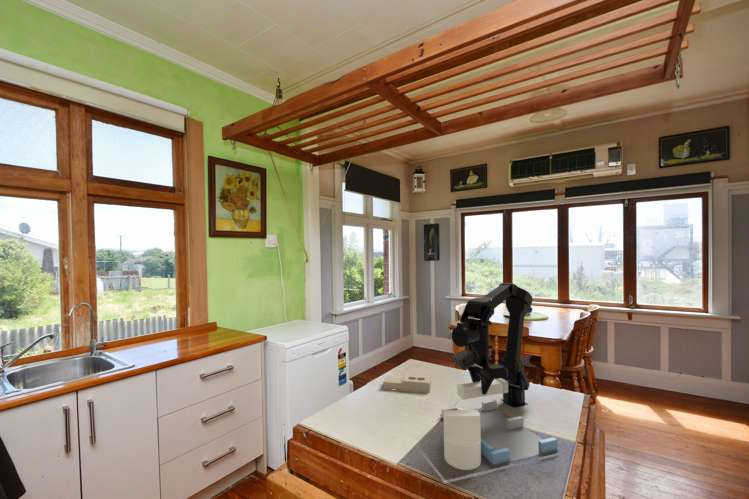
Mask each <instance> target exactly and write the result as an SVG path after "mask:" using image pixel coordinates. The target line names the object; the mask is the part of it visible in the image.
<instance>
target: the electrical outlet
mask: <svg viewBox="0 0 749 499" xmlns="http://www.w3.org/2000/svg"><path fill="white" fill-rule="evenodd" d="M382 385H383V386H382V388H383V390H388V389H396V390H395V391H401V390H406V391H405V392H413V391H415V393H427V394H428V393H429V394H430V393H431V386H432V378H431V376H428V375H426V376H425V375H415V374H412V375H410V374H404V375H403V376H399V375H397V376H396V375H386V376H385V378H384V380H383V382H382Z"/></svg>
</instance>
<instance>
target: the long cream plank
mask: <svg viewBox="0 0 749 499" xmlns="http://www.w3.org/2000/svg"><path fill="white" fill-rule="evenodd" d="M456 391H457V392H456V394H457V395H456V396H458V397H460V398H461V399H462V400H469V399H476V398H481V397H488V396H493V395H499V394H503V393H508V381H506V380H504V379H502V378H499V379H494V380H493V382H492V384H491V385H490V387H489V389H488V391H487V393H486V394H485V395H483V394H482V388H481V380H480V382H469V383H462V384H461V383H460V384H456Z"/></svg>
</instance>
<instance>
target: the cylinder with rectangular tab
mask: <svg viewBox="0 0 749 499" xmlns="http://www.w3.org/2000/svg"><path fill="white" fill-rule="evenodd" d="M443 412H444V418H443V450H444V451H443V452H444V453H443V457H444V461H445V462H446V463H447V464H448V465H450V466H451V467H453V468H455V469H458V470H463V471H464V470H465V471H470V470H472V471H473V470H475V469H477V468H479V467H480V465H481V463H482V454H481V431H480V413H479V412H478V411H477V410H472V409H460V410H459V409H457V410H444V411H443Z"/></svg>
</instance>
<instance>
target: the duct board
mask: <svg viewBox="0 0 749 499" xmlns="http://www.w3.org/2000/svg"><path fill="white" fill-rule="evenodd" d="M497 402H498V401H497V400H496V399H491V400H486V401H485V400H484V401H481V407H479V408H473V409H472V408H471V410H477V411H478V412H479V413H480V431H481V456H483V457H484V459H485V458H486V460H487V461H489V462H490V464H492V465H493V466H494V467H495V466H499V467H502V465H503V464H505V465H506V464H507V466H508V465H510V463H511V462H517V461H520V460H525V459H528V458H533V457H536V459H537V458H538V457H537V456H540V458H541V457H543V456H542V455H544V454H546V455H544V457H545V456H547V454H549V453H552V452H557V451H559V449H558V439H557V438H556V437H554V436H553V437H548V438H544V439H543V438H542V437H540V436H539V435H537V434H535V433H534V432H532V431H531V430H529V429H528V428H527V427H525V426H524V417H523V416H520V415H519V416H514V417H510V416H509V415H507V414H505V413H504V412H503V411H501V410H500V409H498V405H497ZM444 410H458V407H457V406H448V407H443V408H441V414H440V415H439V416H440V417H441V418H442V419H444V412H443V411H444ZM508 463H509V464H508ZM512 464H514V463H512ZM512 464H511V465H512ZM500 465H501V466H500ZM505 465H504V466H505Z"/></svg>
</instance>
